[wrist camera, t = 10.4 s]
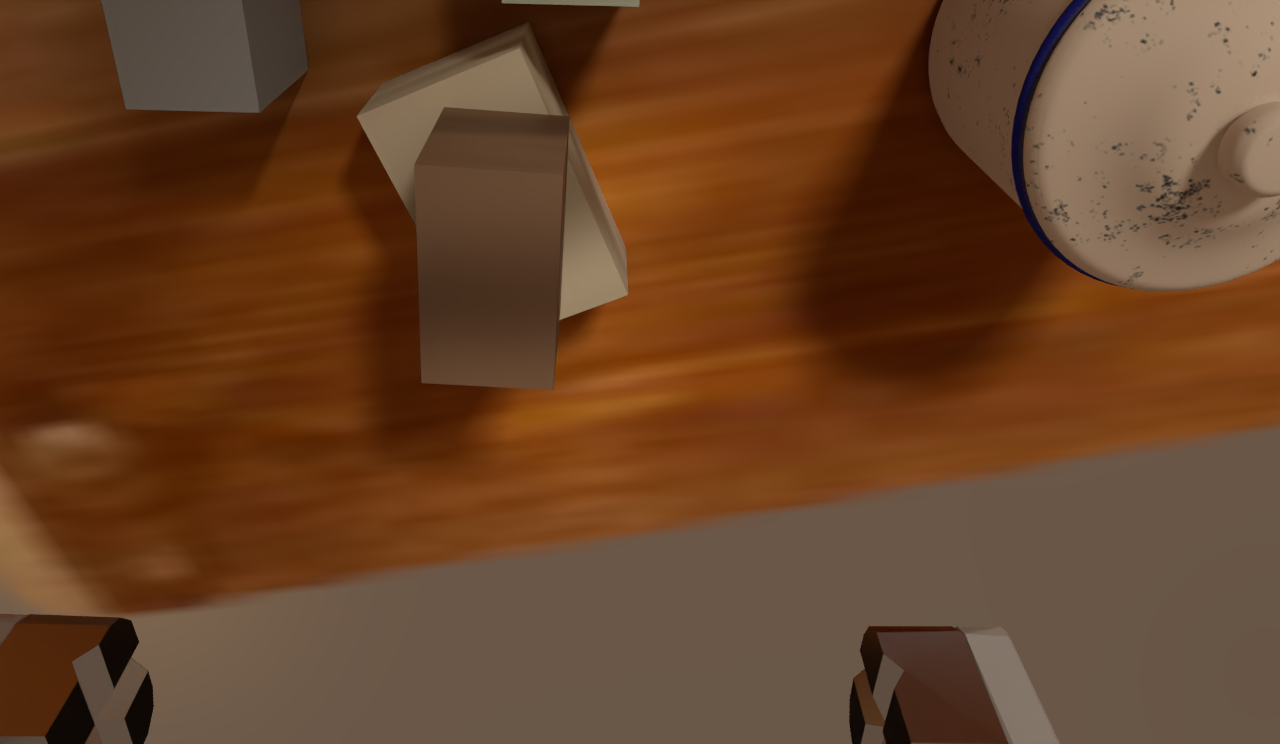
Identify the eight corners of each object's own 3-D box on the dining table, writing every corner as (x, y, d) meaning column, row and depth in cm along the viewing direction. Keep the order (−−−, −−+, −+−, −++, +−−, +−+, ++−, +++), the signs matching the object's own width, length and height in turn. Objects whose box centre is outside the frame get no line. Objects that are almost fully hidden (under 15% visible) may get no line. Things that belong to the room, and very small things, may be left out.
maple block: (384, 81, 31) (356, 116, 28) (529, 20, 30) (519, 48, 27) (494, 294, 35) (482, 348, 31) (625, 244, 34) (628, 294, 31)
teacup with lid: (1185, 165, 33) (1442, 324, 23) (912, 197, 33) (1046, 368, 23) (1258, -258, 27) (1648, -297, 17) (924, -215, 27) (1112, -228, 17)
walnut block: (444, 107, 28) (413, 164, 23) (569, 116, 28) (563, 174, 23) (447, 300, 31) (421, 382, 26) (560, 307, 31) (553, 390, 26)
